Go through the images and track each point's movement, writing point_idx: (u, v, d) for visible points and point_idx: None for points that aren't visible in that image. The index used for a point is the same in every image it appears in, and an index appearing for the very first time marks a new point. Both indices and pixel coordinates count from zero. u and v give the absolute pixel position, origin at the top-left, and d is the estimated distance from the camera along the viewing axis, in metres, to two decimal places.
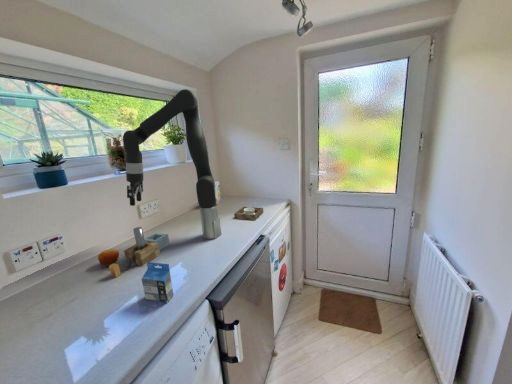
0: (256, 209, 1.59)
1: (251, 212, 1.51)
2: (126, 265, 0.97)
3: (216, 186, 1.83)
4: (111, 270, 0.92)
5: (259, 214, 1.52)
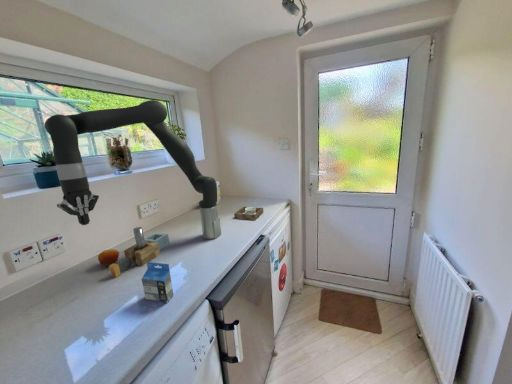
0: (256, 209, 1.59)
1: (252, 211, 1.52)
2: (126, 265, 0.97)
3: None
4: (111, 270, 0.92)
5: (259, 214, 1.52)
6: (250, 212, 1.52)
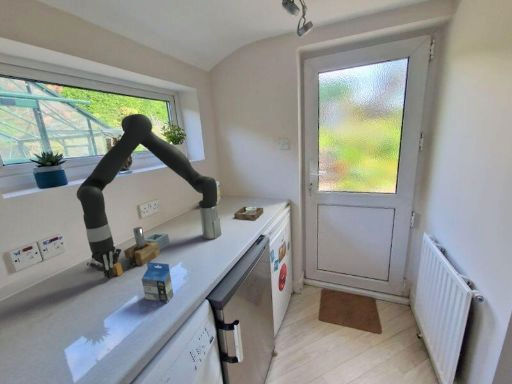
0: (256, 209, 1.59)
1: (253, 211, 1.52)
2: (128, 264, 0.98)
3: None
4: (113, 269, 0.93)
5: (259, 214, 1.52)
6: (251, 212, 1.52)
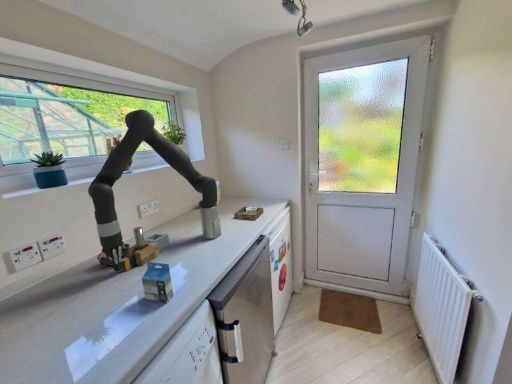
0: None
1: (253, 211, 1.52)
2: None
3: None
4: (122, 264, 0.97)
5: (259, 214, 1.52)
6: (251, 212, 1.52)
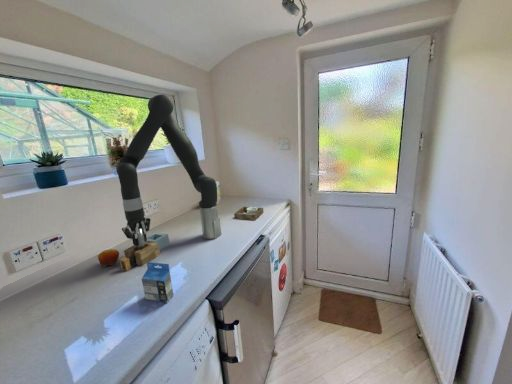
0: None
1: (254, 211, 1.52)
2: None
3: None
4: (122, 264, 0.97)
5: (259, 214, 1.52)
6: (252, 212, 1.52)
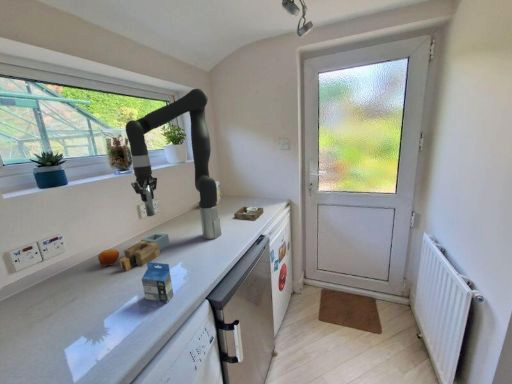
0: None
1: (254, 211, 1.52)
2: None
3: (216, 186, 1.83)
4: (122, 264, 0.97)
5: (259, 214, 1.52)
6: (252, 212, 1.52)
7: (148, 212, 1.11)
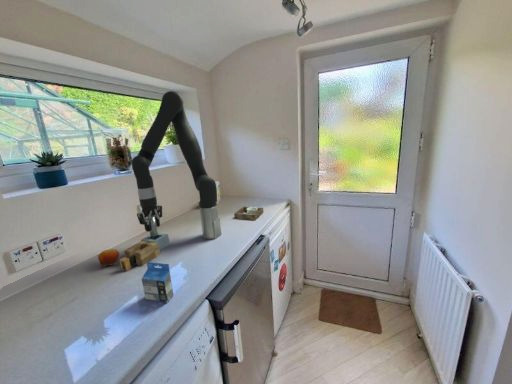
0: None
1: (254, 211, 1.52)
2: None
3: (216, 186, 1.83)
4: (122, 264, 0.97)
5: (259, 214, 1.52)
6: (252, 212, 1.52)
7: None
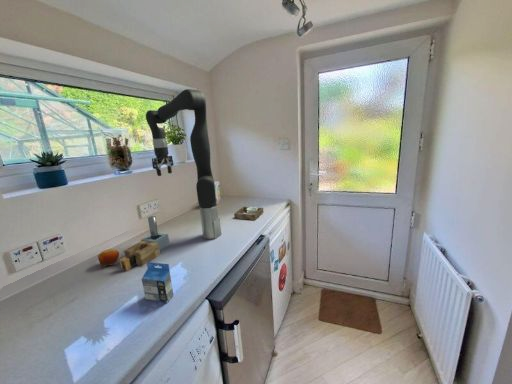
0: None
1: (254, 211, 1.52)
2: None
3: (216, 186, 1.83)
4: (122, 264, 0.97)
5: (259, 214, 1.52)
6: (252, 212, 1.52)
7: None
